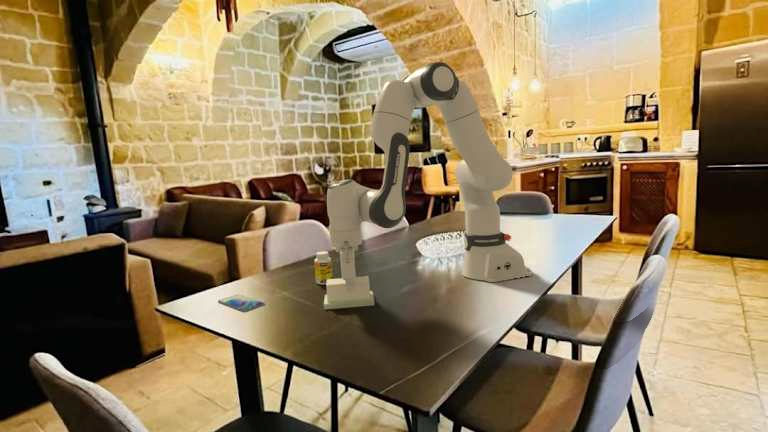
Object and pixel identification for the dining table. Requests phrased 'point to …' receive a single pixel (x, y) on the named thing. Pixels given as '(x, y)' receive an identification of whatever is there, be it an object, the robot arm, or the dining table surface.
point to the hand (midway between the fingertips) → (349, 285)
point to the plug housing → (339, 289)
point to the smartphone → (241, 303)
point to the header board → (349, 303)
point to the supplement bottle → (323, 267)
